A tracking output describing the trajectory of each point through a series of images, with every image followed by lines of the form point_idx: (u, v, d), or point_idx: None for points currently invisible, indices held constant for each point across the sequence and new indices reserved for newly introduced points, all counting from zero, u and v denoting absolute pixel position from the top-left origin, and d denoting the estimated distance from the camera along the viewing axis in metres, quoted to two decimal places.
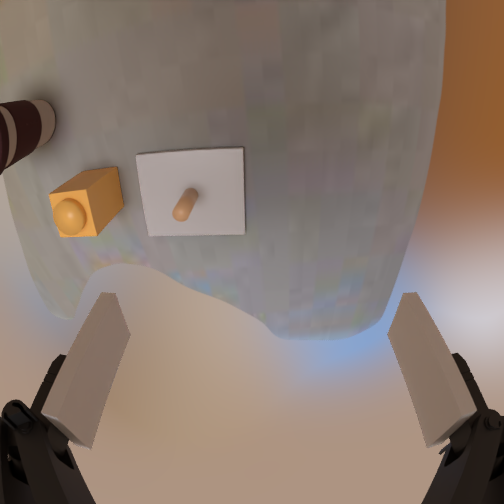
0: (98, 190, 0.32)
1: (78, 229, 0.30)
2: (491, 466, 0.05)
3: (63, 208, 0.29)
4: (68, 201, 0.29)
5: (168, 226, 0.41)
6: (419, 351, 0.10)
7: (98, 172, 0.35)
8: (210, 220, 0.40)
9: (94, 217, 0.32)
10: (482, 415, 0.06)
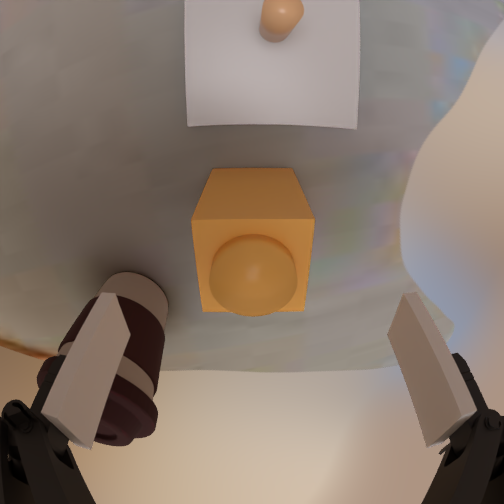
0: (220, 198, 0.17)
1: (283, 262, 0.14)
2: (491, 466, 0.05)
3: (225, 286, 0.15)
4: (210, 271, 0.15)
5: (339, 83, 0.17)
6: (419, 351, 0.10)
7: None
8: (329, 5, 0.14)
9: (269, 214, 0.15)
10: (482, 415, 0.06)
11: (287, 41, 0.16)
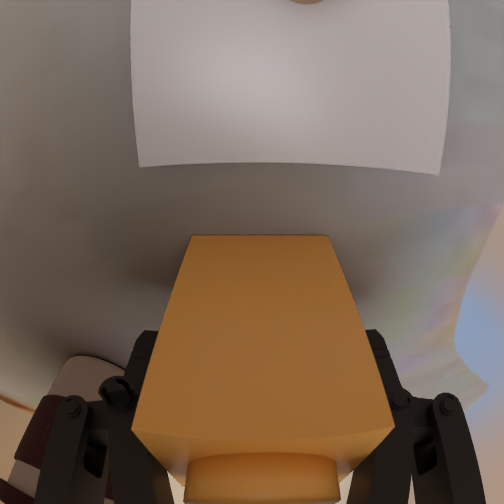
0: (196, 346, 0.08)
1: (320, 498, 0.05)
2: (411, 446, 0.06)
3: None
4: (184, 491, 0.06)
5: (419, 90, 0.09)
6: None
7: None
8: None
9: (300, 418, 0.06)
10: None
11: (329, 4, 0.07)
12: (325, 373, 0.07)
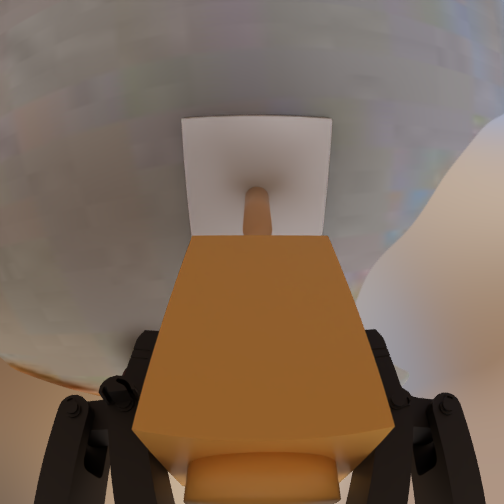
0: (196, 346, 0.08)
1: (320, 498, 0.05)
2: (410, 446, 0.06)
3: None
4: None
5: None
6: None
7: None
8: (302, 171, 0.24)
9: (300, 418, 0.06)
10: None
11: None
12: (325, 373, 0.07)
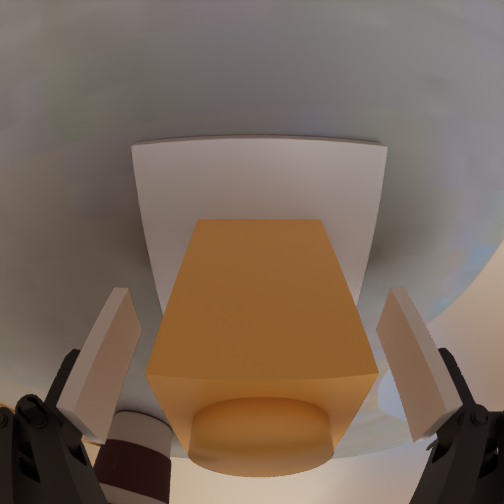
0: (203, 306, 0.09)
1: (314, 445, 0.07)
2: (479, 461, 0.05)
3: (215, 461, 0.07)
4: (189, 442, 0.07)
5: None
6: (406, 345, 0.10)
7: None
8: (334, 232, 0.15)
9: (294, 362, 0.07)
10: (468, 410, 0.07)
11: None
12: (316, 327, 0.08)
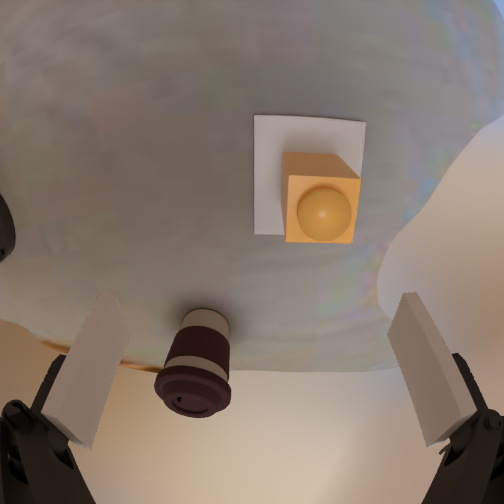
0: (300, 166, 0.25)
1: (344, 202, 0.22)
2: (491, 466, 0.05)
3: (308, 218, 0.23)
4: (299, 207, 0.23)
5: None
6: (419, 350, 0.10)
7: None
8: None
9: (334, 175, 0.23)
10: (482, 415, 0.06)
11: None
12: (339, 171, 0.24)
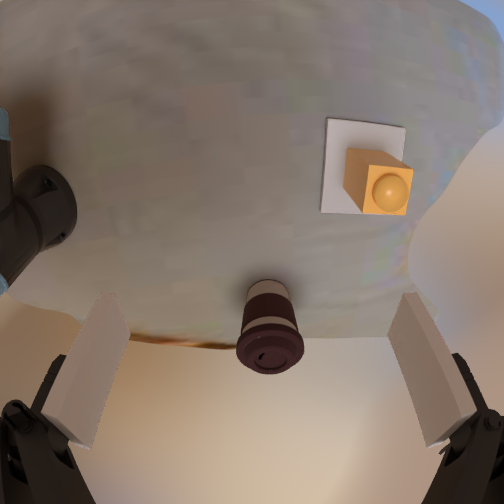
0: (370, 159, 0.33)
1: (404, 185, 0.30)
2: (491, 466, 0.05)
3: (381, 195, 0.31)
4: (376, 187, 0.31)
5: None
6: (419, 351, 0.10)
7: (349, 165, 0.37)
8: None
9: (396, 166, 0.31)
10: (482, 415, 0.06)
11: None
12: (397, 164, 0.32)
